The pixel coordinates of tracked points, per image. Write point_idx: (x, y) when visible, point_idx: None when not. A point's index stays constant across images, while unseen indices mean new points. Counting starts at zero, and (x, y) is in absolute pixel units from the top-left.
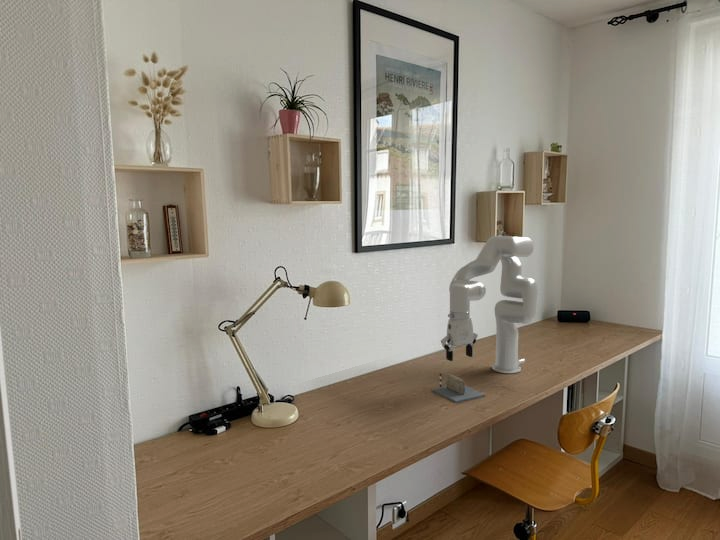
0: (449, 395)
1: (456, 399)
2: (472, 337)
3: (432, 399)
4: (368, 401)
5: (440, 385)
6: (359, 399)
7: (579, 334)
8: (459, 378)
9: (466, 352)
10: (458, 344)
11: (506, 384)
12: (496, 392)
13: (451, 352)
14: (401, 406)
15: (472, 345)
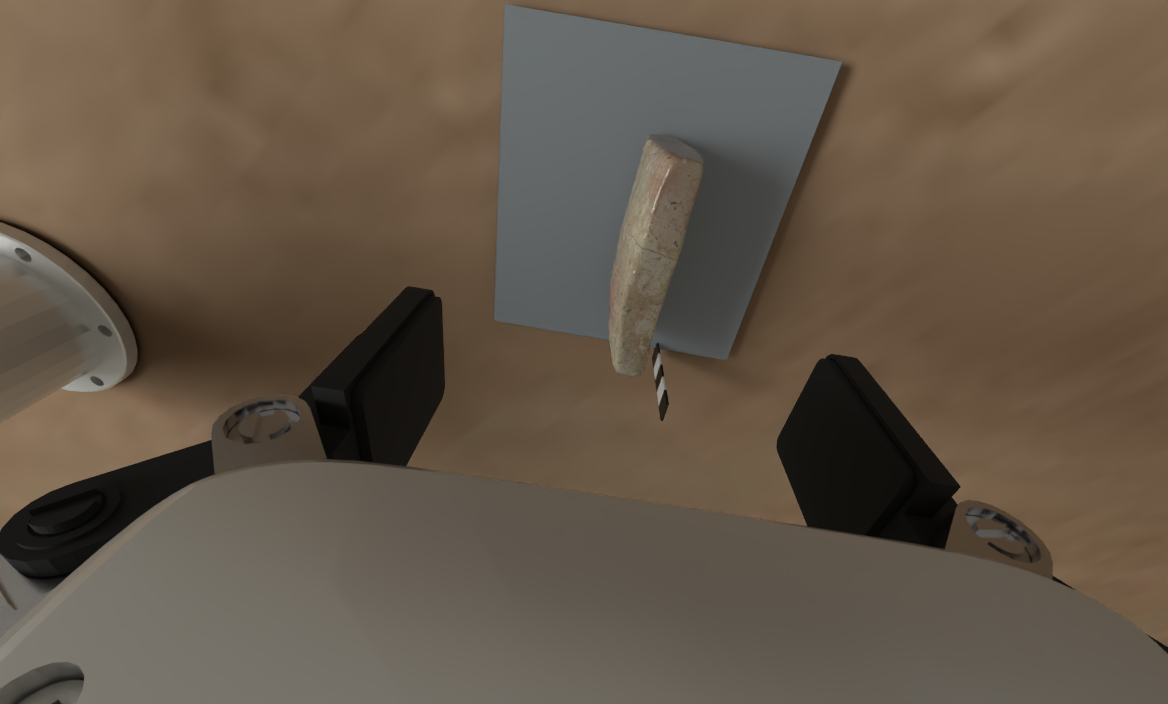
0: (758, 201)
1: (802, 94)
2: (20, 697)
3: (873, 251)
4: (1136, 460)
5: (656, 357)
6: (1124, 499)
7: None
8: (653, 231)
9: (429, 410)
10: (972, 588)
11: (166, 98)
12: (351, 11)
13: (943, 467)
14: (1141, 296)
15: (274, 423)
